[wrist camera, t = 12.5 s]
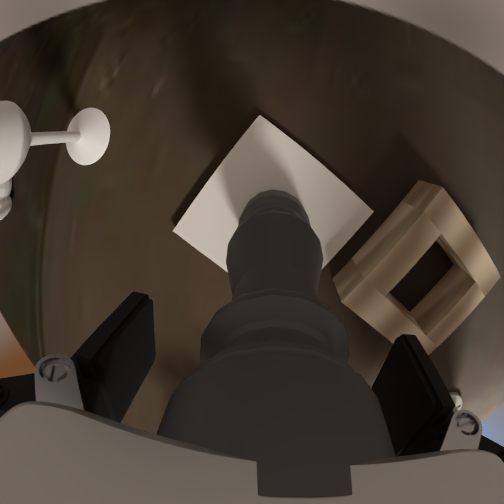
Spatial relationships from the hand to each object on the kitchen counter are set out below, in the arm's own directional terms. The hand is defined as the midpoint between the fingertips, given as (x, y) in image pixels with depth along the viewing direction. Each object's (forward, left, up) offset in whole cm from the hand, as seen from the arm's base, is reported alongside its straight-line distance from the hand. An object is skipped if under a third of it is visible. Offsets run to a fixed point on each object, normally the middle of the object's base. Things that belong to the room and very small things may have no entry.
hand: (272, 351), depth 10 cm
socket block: (-16, -6, -19) cm, 26 cm away
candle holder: (0, 0, -18) cm, 18 cm away
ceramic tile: (0, 0, -19) cm, 19 cm away
